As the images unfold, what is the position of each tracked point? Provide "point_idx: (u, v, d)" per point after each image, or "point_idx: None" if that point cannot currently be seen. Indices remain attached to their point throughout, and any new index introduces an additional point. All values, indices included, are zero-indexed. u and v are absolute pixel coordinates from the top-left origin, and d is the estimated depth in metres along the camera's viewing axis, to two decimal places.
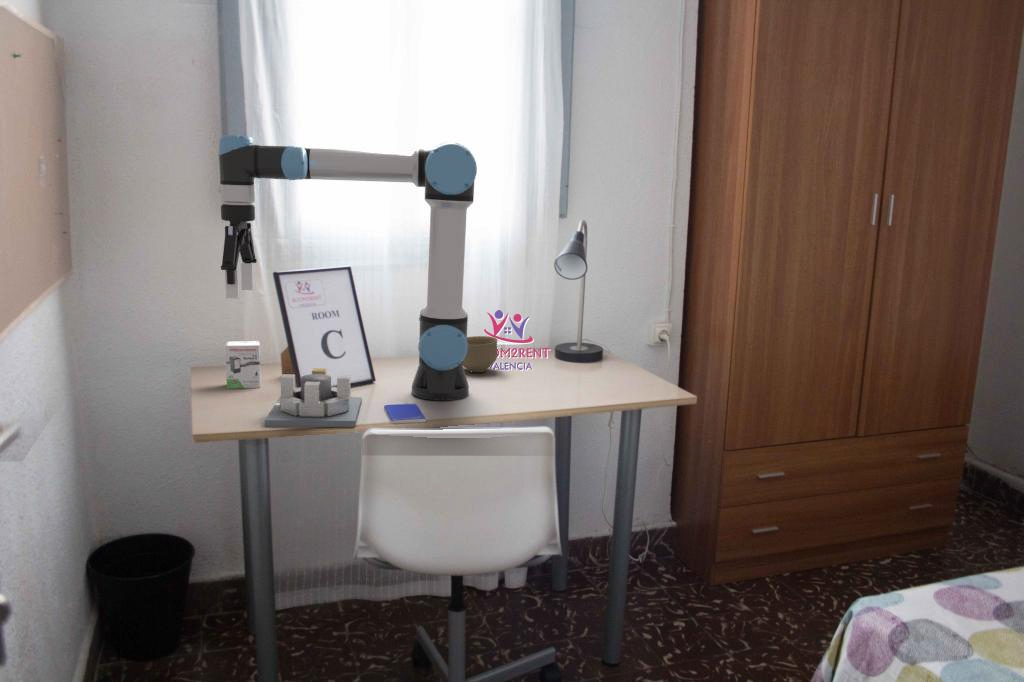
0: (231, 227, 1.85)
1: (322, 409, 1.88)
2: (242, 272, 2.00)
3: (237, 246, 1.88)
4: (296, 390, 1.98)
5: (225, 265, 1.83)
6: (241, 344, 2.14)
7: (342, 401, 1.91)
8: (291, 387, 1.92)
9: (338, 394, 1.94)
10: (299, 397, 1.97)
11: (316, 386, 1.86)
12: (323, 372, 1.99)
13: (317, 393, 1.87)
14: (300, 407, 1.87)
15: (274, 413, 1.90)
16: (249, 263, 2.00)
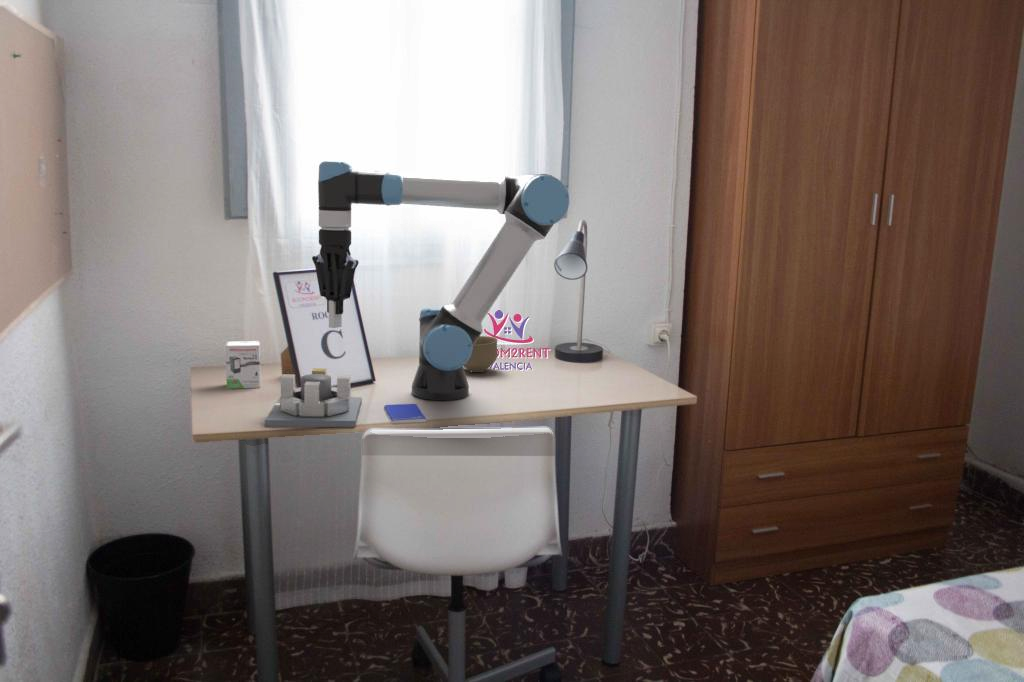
0: None
1: (322, 409, 1.88)
2: None
3: None
4: (296, 390, 1.98)
5: None
6: (241, 344, 2.14)
7: (342, 401, 1.91)
8: (291, 387, 1.92)
9: (338, 394, 1.94)
10: (299, 397, 1.97)
11: (316, 386, 1.86)
12: (323, 372, 1.99)
13: (317, 393, 1.87)
14: (300, 407, 1.87)
15: (274, 413, 1.90)
16: (334, 300, 1.95)
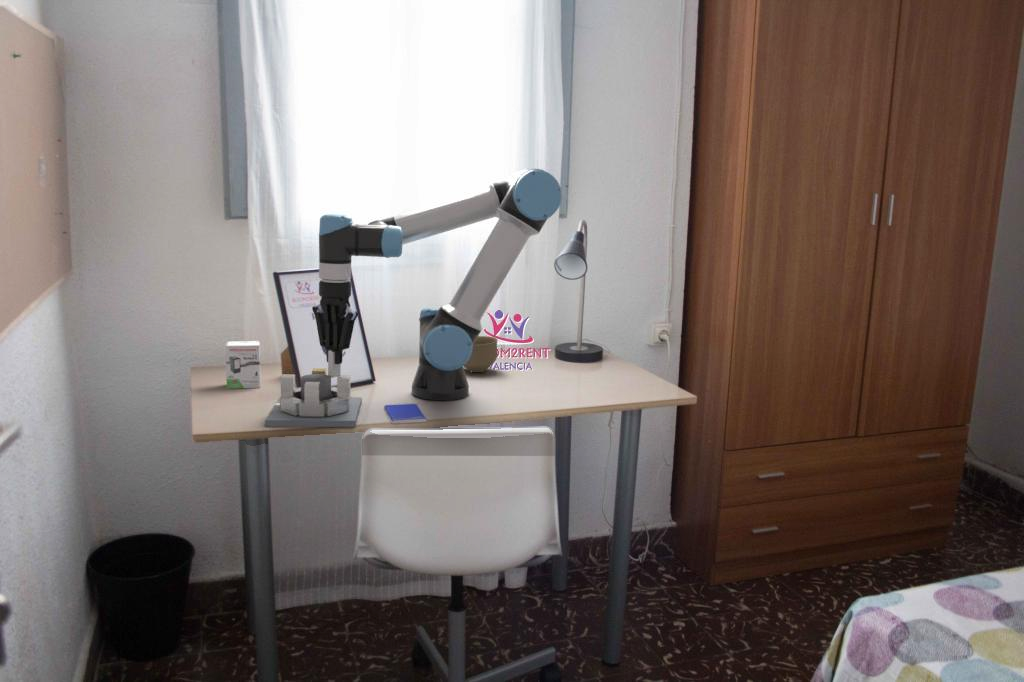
0: None
1: (322, 409, 1.88)
2: None
3: None
4: (296, 390, 1.98)
5: None
6: (241, 344, 2.14)
7: (342, 401, 1.91)
8: (291, 387, 1.92)
9: (338, 394, 1.94)
10: (299, 397, 1.97)
11: (316, 386, 1.86)
12: (323, 372, 1.99)
13: (317, 393, 1.87)
14: (300, 407, 1.87)
15: (274, 413, 1.90)
16: None
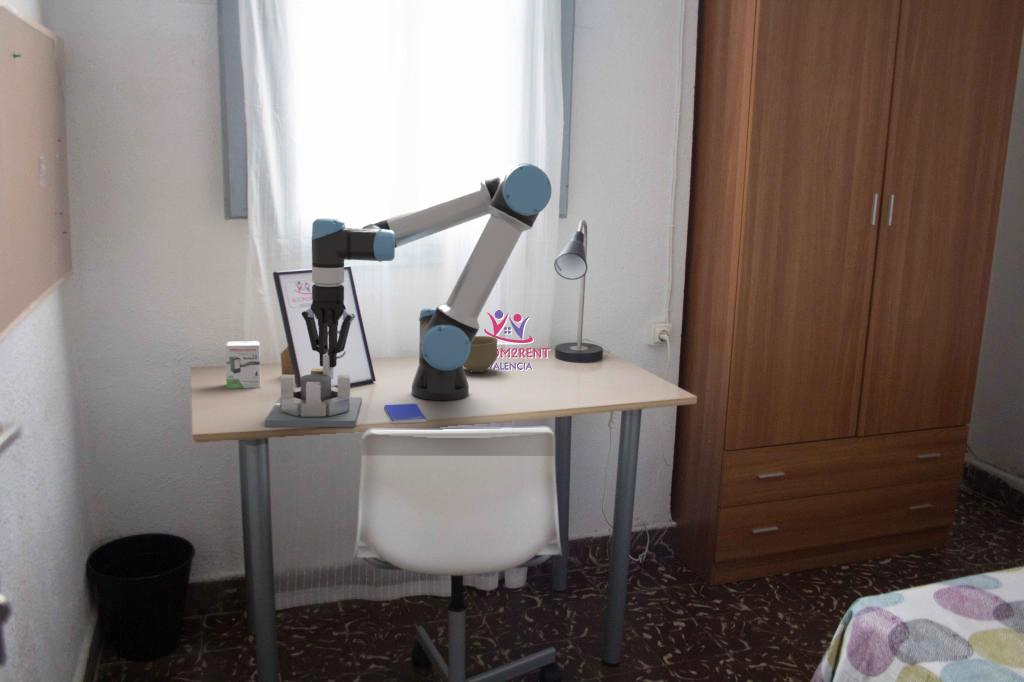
0: None
1: (324, 409, 1.88)
2: None
3: None
4: (295, 390, 1.97)
5: None
6: (241, 344, 2.14)
7: (343, 401, 1.91)
8: (291, 387, 1.92)
9: (338, 394, 1.94)
10: (298, 397, 1.97)
11: (318, 386, 1.86)
12: (322, 372, 1.99)
13: (319, 393, 1.87)
14: (302, 407, 1.87)
15: (274, 413, 1.90)
16: None
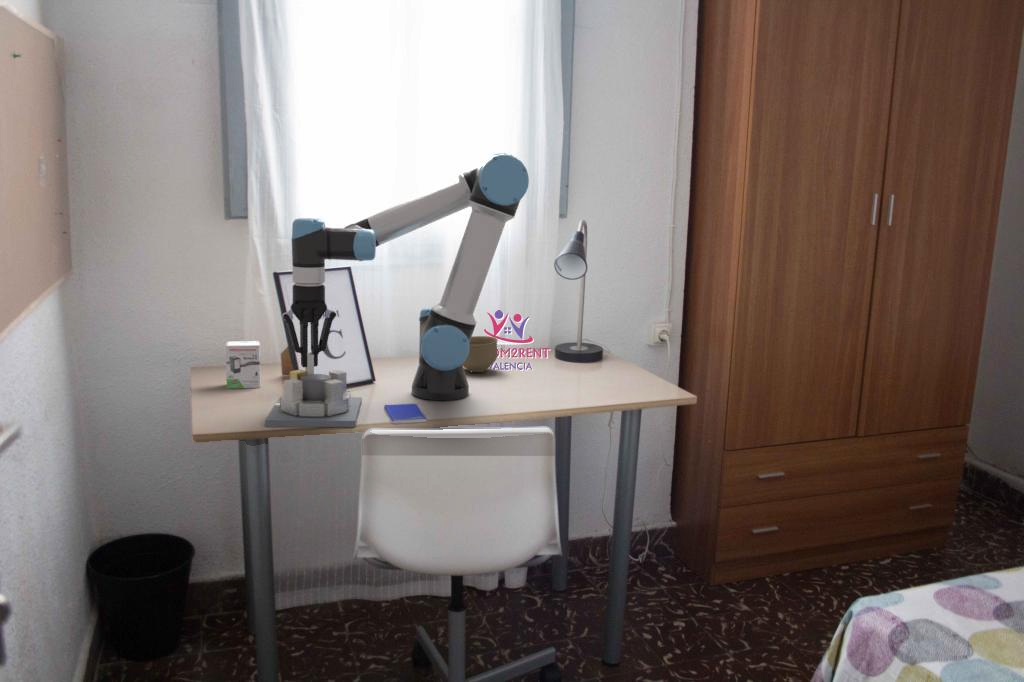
0: (282, 316, 1.94)
1: (345, 404, 1.92)
2: None
3: (302, 330, 1.96)
4: None
5: (294, 350, 1.97)
6: (241, 344, 2.14)
7: (350, 394, 1.97)
8: (301, 391, 1.89)
9: None
10: None
11: (341, 383, 1.90)
12: (306, 372, 1.98)
13: (342, 390, 1.90)
14: (328, 407, 1.88)
15: (274, 413, 1.90)
16: (311, 354, 1.98)
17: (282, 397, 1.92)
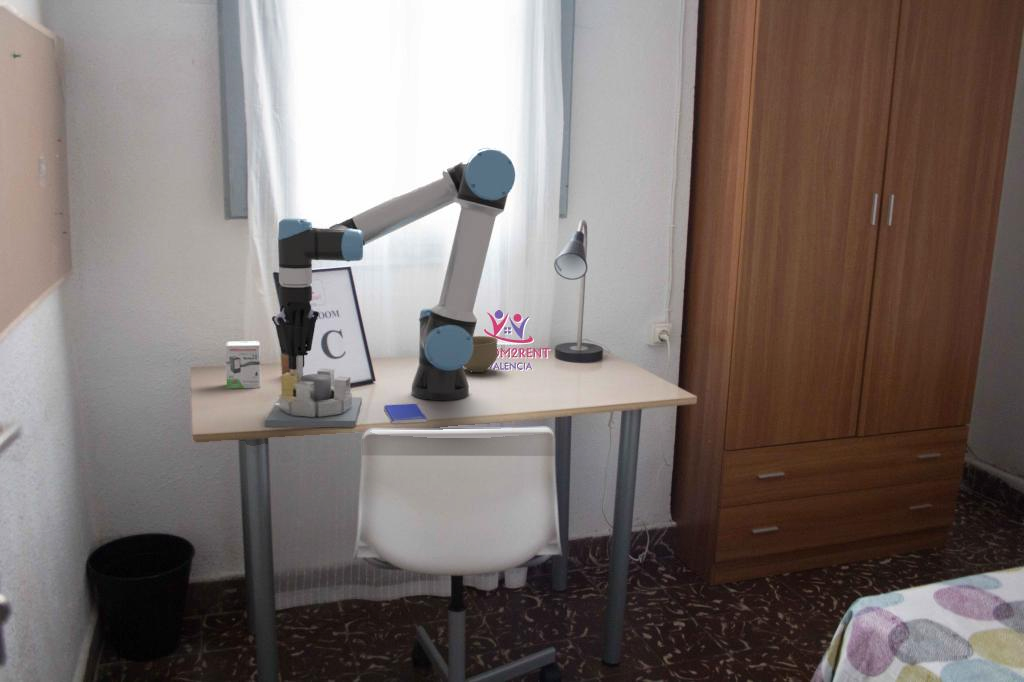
0: (276, 319, 1.89)
1: (351, 399, 1.96)
2: None
3: (292, 332, 1.93)
4: (293, 399, 1.90)
5: (283, 353, 1.93)
6: (241, 344, 2.14)
7: None
8: (313, 392, 1.89)
9: None
10: None
11: (349, 379, 1.94)
12: (297, 374, 1.96)
13: (349, 385, 1.95)
14: (344, 403, 1.91)
15: (274, 413, 1.90)
16: (299, 355, 1.96)
17: (290, 401, 1.89)
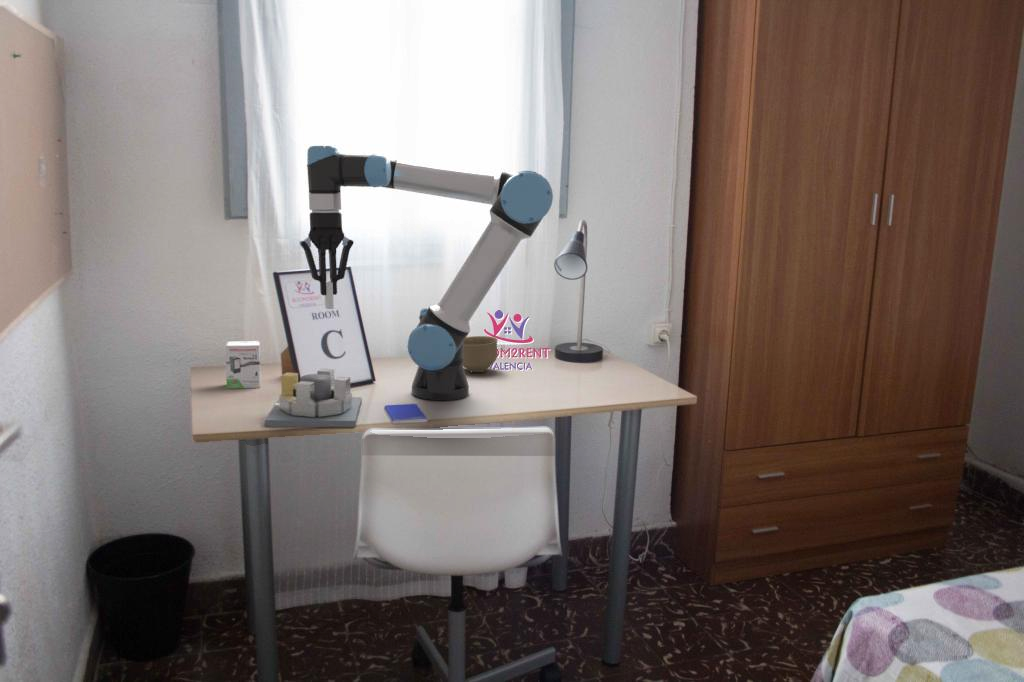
0: (300, 243, 1.96)
1: (351, 399, 1.96)
2: None
3: (320, 257, 1.98)
4: (293, 399, 1.90)
5: (313, 278, 1.99)
6: (241, 344, 2.14)
7: None
8: (313, 392, 1.89)
9: None
10: None
11: (349, 379, 1.94)
12: (297, 374, 1.96)
13: (349, 385, 1.95)
14: (344, 403, 1.91)
15: (274, 413, 1.90)
16: (330, 282, 2.00)
17: (290, 401, 1.89)
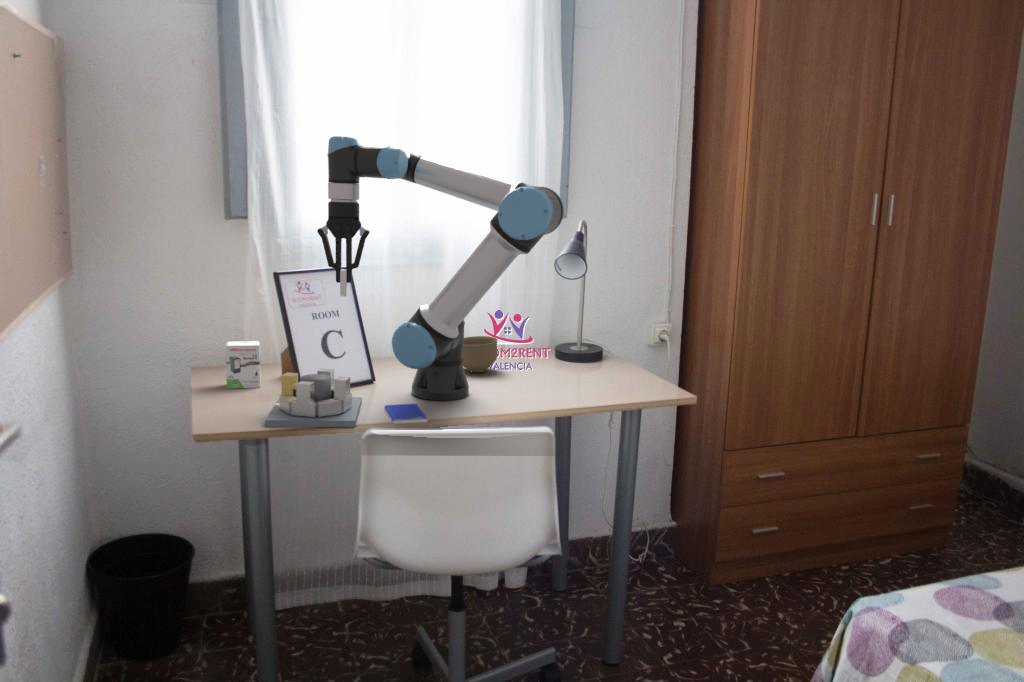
0: None
1: (351, 399, 1.96)
2: None
3: None
4: (293, 399, 1.90)
5: None
6: (241, 344, 2.14)
7: None
8: (313, 392, 1.89)
9: None
10: None
11: (349, 379, 1.94)
12: (297, 374, 1.96)
13: (349, 385, 1.95)
14: (344, 403, 1.91)
15: (274, 413, 1.90)
16: (345, 270, 2.05)
17: (290, 401, 1.89)
